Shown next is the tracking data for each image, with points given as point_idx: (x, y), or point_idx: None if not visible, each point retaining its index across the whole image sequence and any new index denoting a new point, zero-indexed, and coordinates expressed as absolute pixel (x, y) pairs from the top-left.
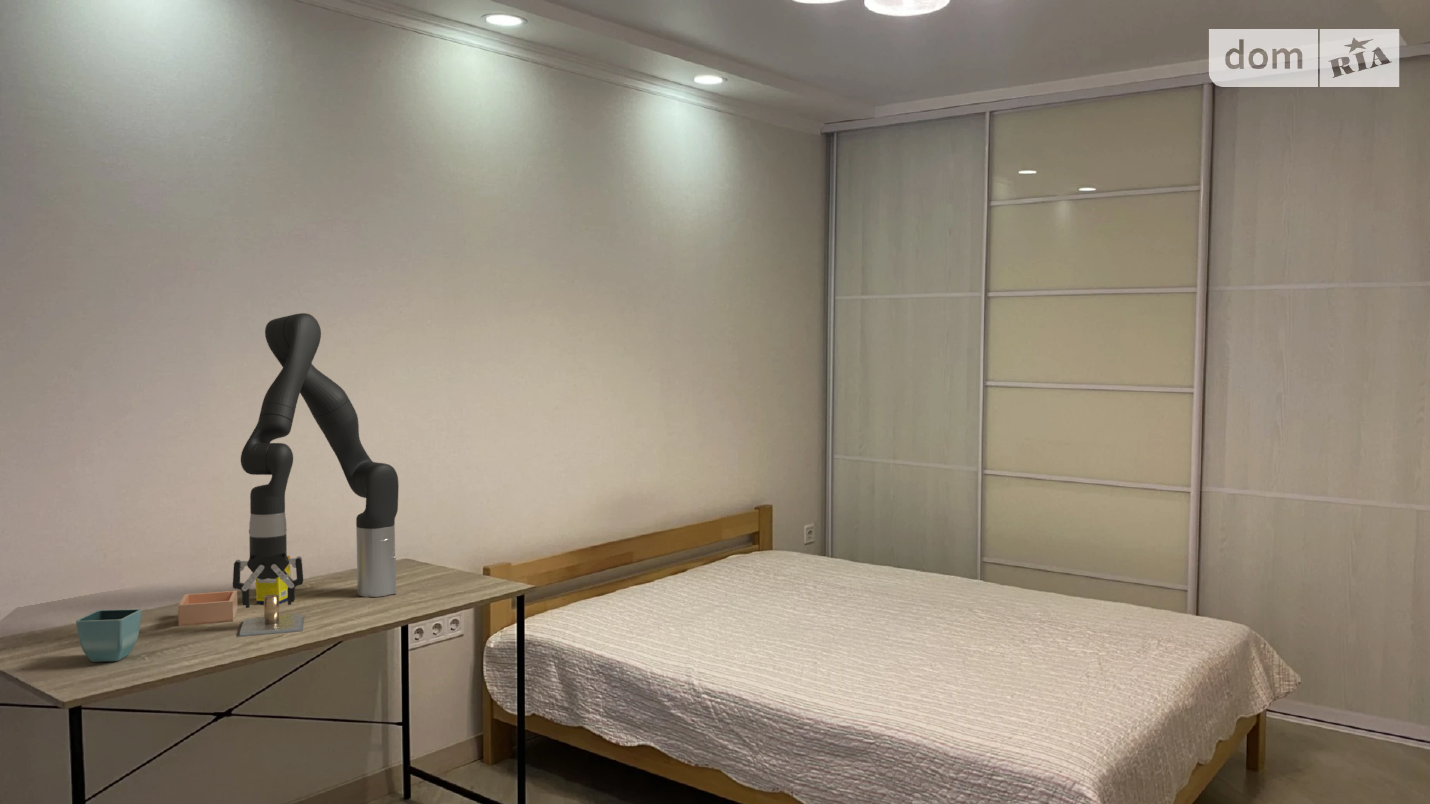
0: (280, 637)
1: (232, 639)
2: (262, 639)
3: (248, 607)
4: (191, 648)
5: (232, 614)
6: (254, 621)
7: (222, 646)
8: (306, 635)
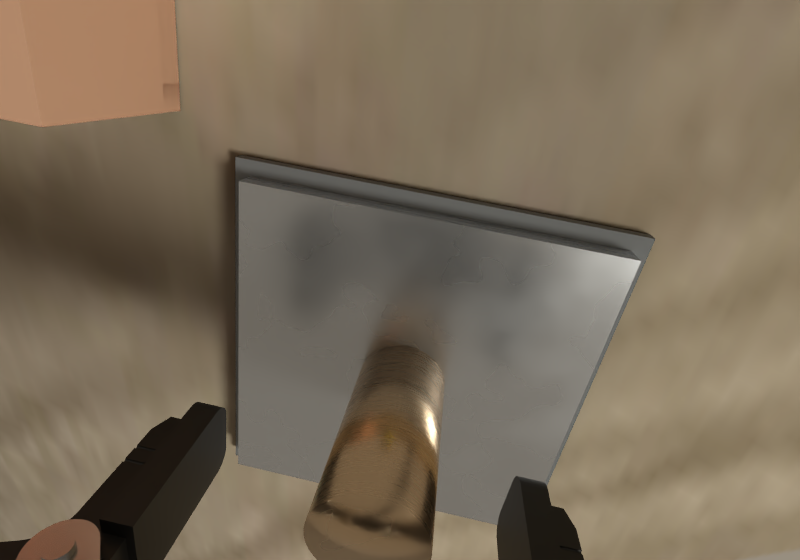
0: None
1: None
2: None
3: (219, 456)
4: (82, 472)
5: (134, 113)
6: (304, 297)
7: None
8: None
